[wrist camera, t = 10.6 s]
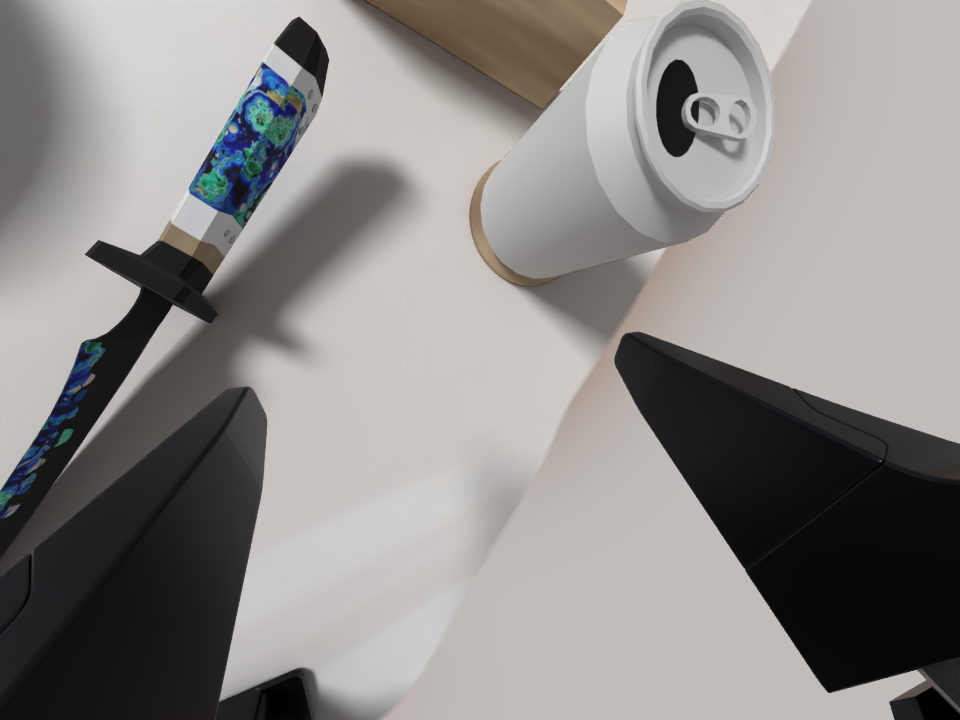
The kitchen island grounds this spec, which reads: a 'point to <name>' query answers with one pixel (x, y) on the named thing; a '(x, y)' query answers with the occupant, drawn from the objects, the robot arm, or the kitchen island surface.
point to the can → (637, 146)
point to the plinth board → (513, 36)
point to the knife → (178, 256)
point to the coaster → (483, 243)
